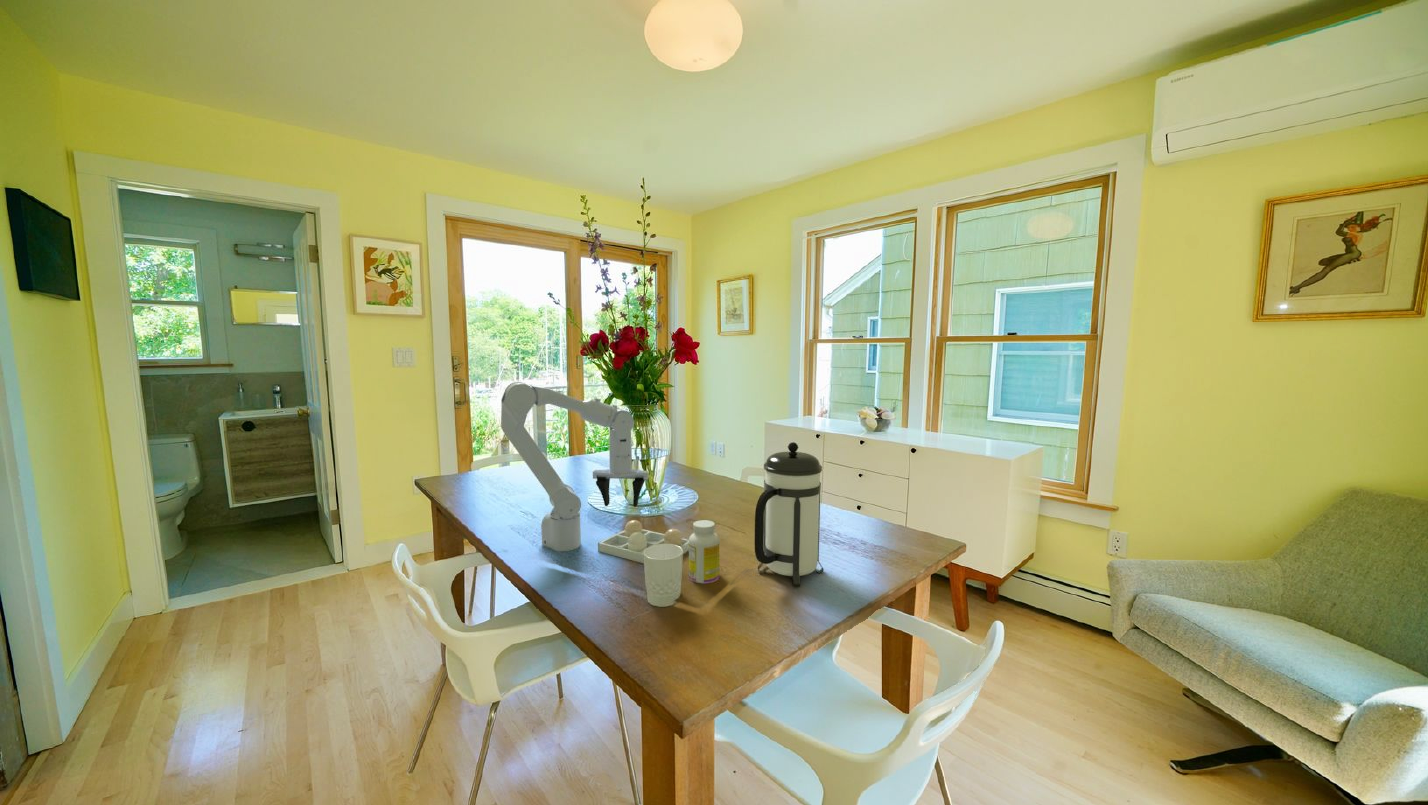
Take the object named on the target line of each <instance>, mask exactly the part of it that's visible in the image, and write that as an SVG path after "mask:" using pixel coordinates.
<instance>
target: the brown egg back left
mask: <svg viewBox="0 0 1428 805" xmlns="http://www.w3.org/2000/svg"><path fill="white" fill-rule="evenodd" d="M642 529H643V524H642V523H641V522H640V521H639V520H636V519H632V520H629V521H628V522H627V523H626V525H625V526H624V530H625V536H626V537H630V535H631V534H632V533H634V532H641V533H642Z"/></svg>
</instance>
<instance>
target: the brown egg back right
mask: <svg viewBox="0 0 1428 805" xmlns="http://www.w3.org/2000/svg"><path fill="white" fill-rule="evenodd" d="M664 534H665V535H664V544H673V545H677V546H679V547H680V546H681V545H682V538H683V535H682V532H681V531H680V530H679V529H677V528H669V529H668V530H667V531H666V532H665V533H664Z"/></svg>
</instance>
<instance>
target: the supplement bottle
mask: <svg viewBox="0 0 1428 805" xmlns="http://www.w3.org/2000/svg"><path fill="white" fill-rule="evenodd" d="M692 524H693V526H692V530H693V533H692V534H690V536H689V537H688V540H689V551H688V577H689V579H690V580H691V581H692V582H694V583H699V584H710V583H714V582H716V581H718V580H719V578H720V537H719V536H718V534H717V533H716V532H715V529H716V527H715V526H716V524H715V522H714V521H712V520H707V519H705V520H704V519H703V520H696V521H694V522H693V523H692Z"/></svg>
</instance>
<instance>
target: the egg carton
mask: <svg viewBox="0 0 1428 805" xmlns="http://www.w3.org/2000/svg"><path fill="white" fill-rule="evenodd" d="M642 533H643V534H644V535H645V537H646V541H647V548H648V547H650V546H653V545H657V544H664V535H665V533H662V532H661V533H660V532H656V531H652V530H648V529H643V528H642ZM628 539H629V537H626V536H625V529H624V530H623V531H622V530H621V531H620V532H618V533H616V534H614V535H611V536H610V537H608V538H607V537H606V538H605V539H604V540H601V541H599V542H597V551H598V552H600V553H604V554H608V555H612V556H615V557H619V558H622V559H626V560H630V561H633V562H637V563H641V564H644V553H643V552H644V550H643V551H641V552H636V551H632V550H628ZM680 547H681V548H682V549H683V555H684V554H686V553H688V552H689V539H687V538H683V537H682V545H681V546H680Z"/></svg>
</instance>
